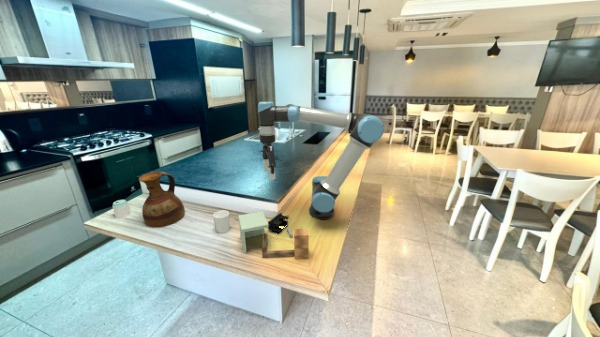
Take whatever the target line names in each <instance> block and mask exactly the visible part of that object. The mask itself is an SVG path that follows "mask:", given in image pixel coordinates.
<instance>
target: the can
mask: <svg viewBox="0 0 600 337" xmlns="http://www.w3.org/2000/svg"><path fill="white" fill-rule="evenodd" d="M112 209H113V213H114V217H115V218H116V219H124V218H127V217H129V216H130V215H131V214H132V212H131V210H130V209H131V208H130V205H129V202H128V201H127V200H126V199H118V200H116V201H114V202H113V203H112Z"/></svg>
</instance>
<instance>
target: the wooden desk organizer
mask: <svg viewBox="0 0 600 337" xmlns="http://www.w3.org/2000/svg"><path fill="white" fill-rule="evenodd" d="M309 235H310V234H309V229H308V228H293V241H294V242H293V243H294V246H293V248H294V249H285V250H284V249H283V250H281V249H280V250H268V246H269V245H268V244H269V241H268V239H269V238H268V233H265V234H263V240H262V246H261V252H262V254H261V255H262V256H261V257H262V259H270V258H272V259H273V258H275V259H276V258H291V257H294V260H306V259H307V260H308V259H309V247H310V246H309V245H310V244H309V239H310V238H309Z"/></svg>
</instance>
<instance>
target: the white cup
mask: <svg viewBox="0 0 600 337" xmlns="http://www.w3.org/2000/svg"><path fill="white" fill-rule="evenodd" d="M212 217H213V222H214V226H215V227H214V228H215V231H216V232H217V233H218V234H224V233H225V234H226V233H227V232H229V231H230V229H231V228H230V226H231V224H230V222H231V221H230V212H229V211H228V210H223V209H222V210H218V211H216V212H214V213H213V215H212Z"/></svg>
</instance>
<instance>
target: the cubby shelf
mask: <svg viewBox="0 0 600 337" xmlns="http://www.w3.org/2000/svg"><path fill="white" fill-rule="evenodd" d="M268 222H269V221H267V218H266V215H265V214H264V211H262V210H261V211H258V212H251V213H246V214H241V215H240V214H239V215H238V224H239V225H238V226H239V233H240V240H241V247H242V252H243V254H247V245H246V239H247V238H251V237H255V236H256V235H257V236H261V235H260V234H262V235H264V234H266V233H265V229H268V227H269V226H268Z"/></svg>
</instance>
